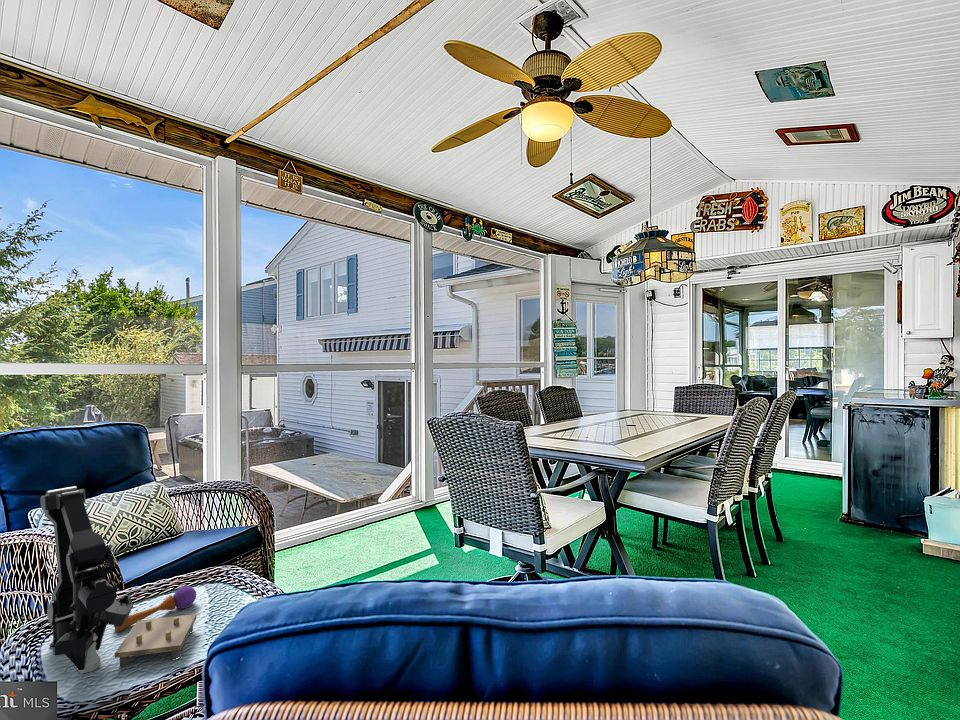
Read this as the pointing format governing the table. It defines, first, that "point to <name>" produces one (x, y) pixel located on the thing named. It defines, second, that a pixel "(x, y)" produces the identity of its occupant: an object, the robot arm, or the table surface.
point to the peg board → (156, 637)
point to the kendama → (164, 606)
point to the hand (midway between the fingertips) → (89, 659)
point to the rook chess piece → (92, 658)
